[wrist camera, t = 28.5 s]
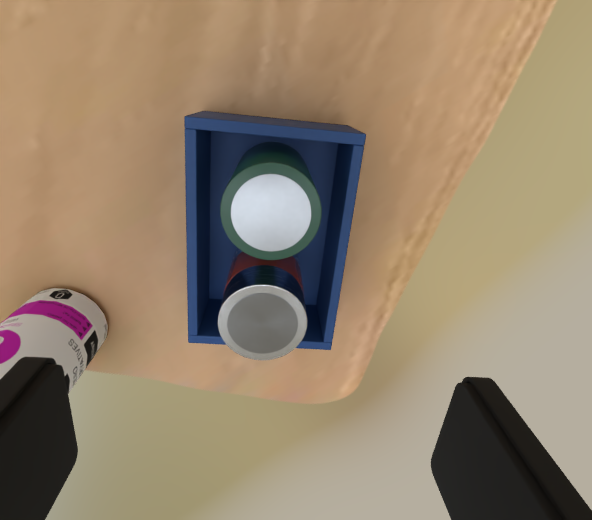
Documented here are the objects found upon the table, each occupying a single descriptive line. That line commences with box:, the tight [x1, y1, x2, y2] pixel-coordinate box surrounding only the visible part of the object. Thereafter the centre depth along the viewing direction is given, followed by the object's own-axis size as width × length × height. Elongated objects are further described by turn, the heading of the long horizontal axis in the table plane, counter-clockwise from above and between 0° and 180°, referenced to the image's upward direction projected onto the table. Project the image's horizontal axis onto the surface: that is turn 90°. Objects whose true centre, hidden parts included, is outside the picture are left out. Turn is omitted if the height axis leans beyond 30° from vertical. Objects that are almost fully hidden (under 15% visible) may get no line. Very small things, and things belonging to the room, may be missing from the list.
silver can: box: [218, 248, 307, 360], centre depth 33 cm, size 7×7×11 cm
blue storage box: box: [185, 111, 366, 350], centre depth 34 cm, size 19×13×7 cm
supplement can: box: [0, 288, 108, 393], centre depth 33 cm, size 8×8×15 cm
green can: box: [220, 142, 322, 260], centre depth 30 cm, size 7×7×11 cm
